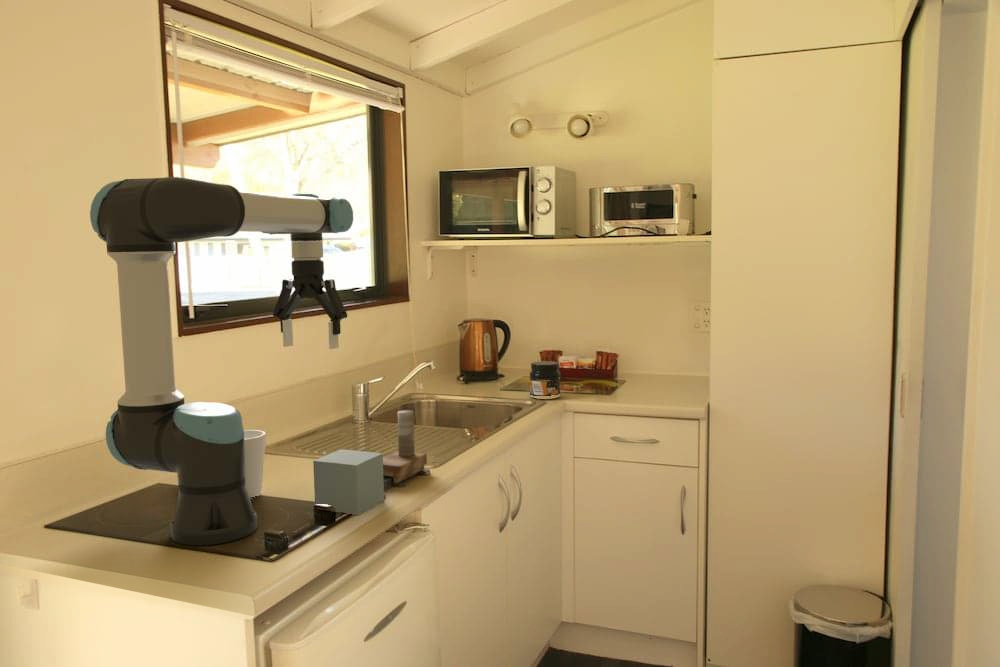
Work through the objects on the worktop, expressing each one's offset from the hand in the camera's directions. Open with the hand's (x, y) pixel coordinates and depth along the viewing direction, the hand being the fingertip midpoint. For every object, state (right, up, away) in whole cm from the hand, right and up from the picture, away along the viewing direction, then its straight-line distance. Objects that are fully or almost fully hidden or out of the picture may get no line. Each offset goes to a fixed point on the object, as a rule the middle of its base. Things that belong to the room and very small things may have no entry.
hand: (310, 347), depth 197 cm
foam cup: (-8, -31, -25) cm, 41 cm away
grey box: (+16, -31, -33) cm, 48 cm away
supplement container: (+61, -19, +81) cm, 103 cm away
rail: (+22, -30, -18) cm, 41 cm away
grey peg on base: (+24, -29, -15) cm, 40 cm away
